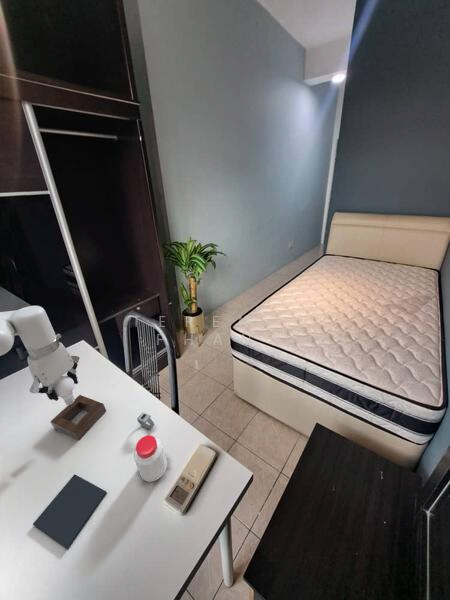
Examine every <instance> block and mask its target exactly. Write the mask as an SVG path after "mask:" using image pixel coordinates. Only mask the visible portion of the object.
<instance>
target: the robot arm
mask: <svg viewBox="0 0 450 600" xmlns="http://www.w3.org/2000/svg"><path fill="white" fill-rule="evenodd" d="M15 336H19V338H20V339H21V342H22V343H23V346H24V347H25V349H26V351H27V353H28V356H27V358H26V359H27V365H28V369H29V371H30V375H31V377H32V379H33V382H32V384H31V386H30V388H29V393H31V394H46V396H47V398H48V400H49V401H50V400H51V401H56V402H57V401H59V399H60V397H58V396H57V394H56V392H55V391H54V390H52V384H53V382H55V381H56V380H57V379H59V378H60V377H61V376H65V374H66V376H68V377H71V378H72V379H73V381H74V384H75V385H78V384H79V379H78V376H77V368H78V366H79V365H78V363H79V362H80V357H79V356H78V355H71V354H70V352H69V351H68V349H67V347H65V345H64V344H63V343H62V342H61V341H60V340H59V339H60V338H62V335H61V334H60V333H56V332H55V330H54V327H53V326H52V323H51V321H50V318H49V316H48V314H47V312H46V310H45V309H44V308H43V307H42V306H40V305H29V306H25V307H22V308H19V309H16V310H9V311H0V357H1V356H4V355H5V354H7V353H8V352H10V351H11V349H12V348H13V346H14V342H15ZM40 384H41V387H40Z"/></svg>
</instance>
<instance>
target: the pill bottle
mask: <svg viewBox="0 0 450 600" xmlns="http://www.w3.org/2000/svg"><path fill="white" fill-rule="evenodd" d="M133 460H134V462H135V465H136V467H137V471H138V473H139V475H140V477H141V479H142V480H143V481H145V482H149V483H150V482H151V483H152V482H155V481H158V480H159V479H160V478H161V477H162V476H163V475H164V474H165V473H166V471H167V466H168V460H167V457H166V453H165V450H164V447H163V443H162V441H161V440H160V439H159V438H158V437H155V436H153V435H150V434H148V435H144V436H142V437H141V438H140V439H138V441H137V442H136V445H135V448H134V451H133Z"/></svg>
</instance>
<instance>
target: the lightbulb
mask: <svg viewBox="0 0 450 600" xmlns="http://www.w3.org/2000/svg"><path fill="white" fill-rule="evenodd" d="M75 385H76V384H74V381H73V379H72V378H71V377H68V376H67V375H63V376H61V377H60V378H59V379H57V380H56V381H55V382H53V384H52V390H54V391H55V392H56V394H57V396H58V398H61V399H62V400H63V401H64V403H65V405H66V406H68V405H70V404H72V403H73V402H74V401H75V399H76V398H75V397H74V389H75Z"/></svg>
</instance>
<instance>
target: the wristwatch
mask: <svg viewBox="0 0 450 600" xmlns="http://www.w3.org/2000/svg"><path fill="white" fill-rule="evenodd" d="M151 417H152V415H150V414H148V413H146V412H142V413H141V414H140V415H139V416H138V417H137V422H138V423H139V424H140V425H141V427H143V428H145V429H147V430H152V429H153V428H154V427H155V422H154V421H153V420H152V419H151Z"/></svg>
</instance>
